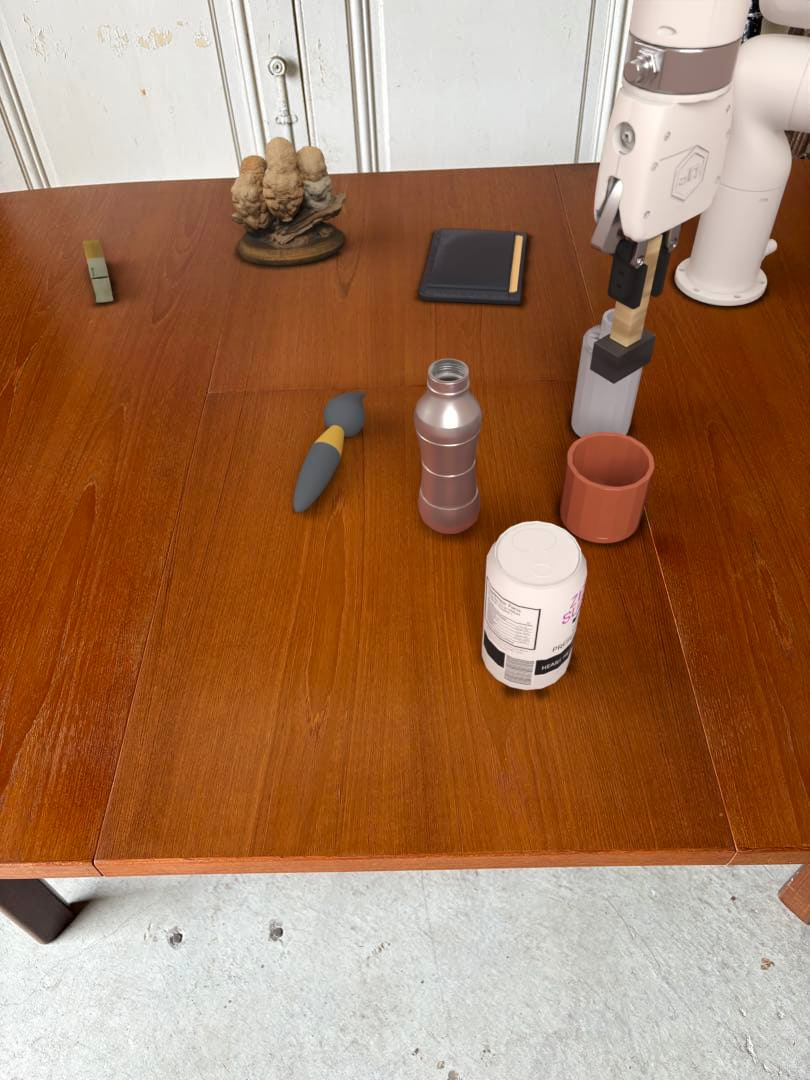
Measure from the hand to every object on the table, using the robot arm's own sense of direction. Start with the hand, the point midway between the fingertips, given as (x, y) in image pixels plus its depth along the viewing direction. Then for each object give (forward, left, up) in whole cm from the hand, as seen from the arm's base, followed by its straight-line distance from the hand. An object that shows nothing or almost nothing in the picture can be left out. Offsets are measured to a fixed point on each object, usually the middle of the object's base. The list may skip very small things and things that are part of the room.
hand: (634, 294), depth 70 cm
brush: (0, 0, -8) cm, 8 cm away
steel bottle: (-10, -9, -26) cm, 29 cm away
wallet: (-23, -46, -26) cm, 57 cm away
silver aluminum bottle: (+14, -9, -26) cm, 31 cm away
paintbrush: (+18, -25, -26) cm, 40 cm away
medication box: (+22, -81, -26) cm, 87 cm away
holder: (+1, +1, -26) cm, 26 cm away
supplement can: (+20, +9, -26) cm, 34 cm away
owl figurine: (-6, -70, -26) cm, 75 cm away
